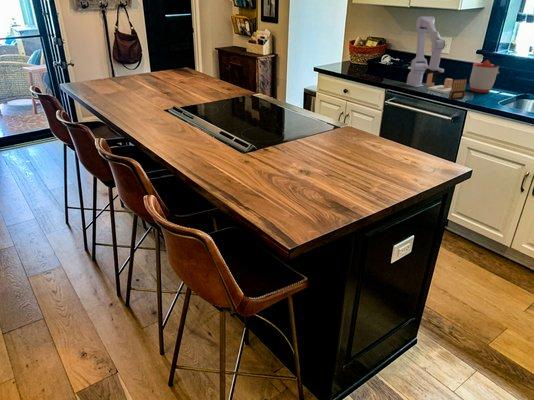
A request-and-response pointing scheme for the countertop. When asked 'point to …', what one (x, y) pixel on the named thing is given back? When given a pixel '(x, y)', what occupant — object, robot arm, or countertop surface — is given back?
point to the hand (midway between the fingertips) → (430, 81)
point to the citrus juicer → (483, 77)
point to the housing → (443, 87)
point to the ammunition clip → (457, 90)
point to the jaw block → (429, 80)
